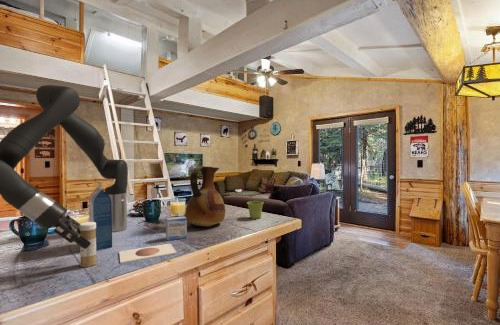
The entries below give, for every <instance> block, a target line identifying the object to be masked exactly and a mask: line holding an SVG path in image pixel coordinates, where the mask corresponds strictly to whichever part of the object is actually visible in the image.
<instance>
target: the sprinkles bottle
mask: <svg viewBox="0 0 500 325" xmlns="http://www.w3.org/2000/svg"><path fill="white" fill-rule="evenodd" d="M79 224H80V225H79V230H80V235H81V236H82V237H84V238H85V239H87V240H88V241H89V242H90V243H91V244H90V245H89V246H88V247H87V248H86V249H84V248H83V247H81V246H80V245H79V249H80V252H79V254H80V264H79V265H80V267H82V268H88V267H89V268H90V267H92V266H94V265H96V264H97V250H96V222H90V221H85V222H81V223H79Z"/></svg>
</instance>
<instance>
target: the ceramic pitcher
mask: <svg viewBox="0 0 500 325" xmlns="http://www.w3.org/2000/svg"><path fill="white" fill-rule="evenodd" d="M219 169H220V167H213V166H204V165H199V166H197V167H196V168H194V169H192V171H191V173H190V175H189V179H190V181H189V182H190V188H191V192H192V194H191V195H192V196H191V197H190V198H189V200H188V202H187V204H186V207H185V213H184V215H185V216H184V217H186V218H187V223H189V224H192V225H194V226H200V227H212V226H214V225H217V224H219V223H221V222H223V221H224V220H225V217H226V206H225V203H224V199H223V197H222V196H221V194H220V193H219V191H218V190H216V188H215V184H214V181H215V180H214V179H215V174H216V172H217V171H218V170H219ZM199 173H201V175H202V178H201V179H202V181H201V184H200V188H199V186H198V184H199V183H198V176H199Z"/></svg>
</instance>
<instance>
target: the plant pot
mask: <svg viewBox="0 0 500 325" xmlns="http://www.w3.org/2000/svg"><path fill="white" fill-rule="evenodd" d="M246 204H247V206H248V212H249V218H250V219H252V220H257V219H261V218H262V213H263V212H262V211H263V207H264V206H263V205H264V204H265V203H264V201H259V200H253V201H252V200H251V201H247V202H246Z"/></svg>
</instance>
